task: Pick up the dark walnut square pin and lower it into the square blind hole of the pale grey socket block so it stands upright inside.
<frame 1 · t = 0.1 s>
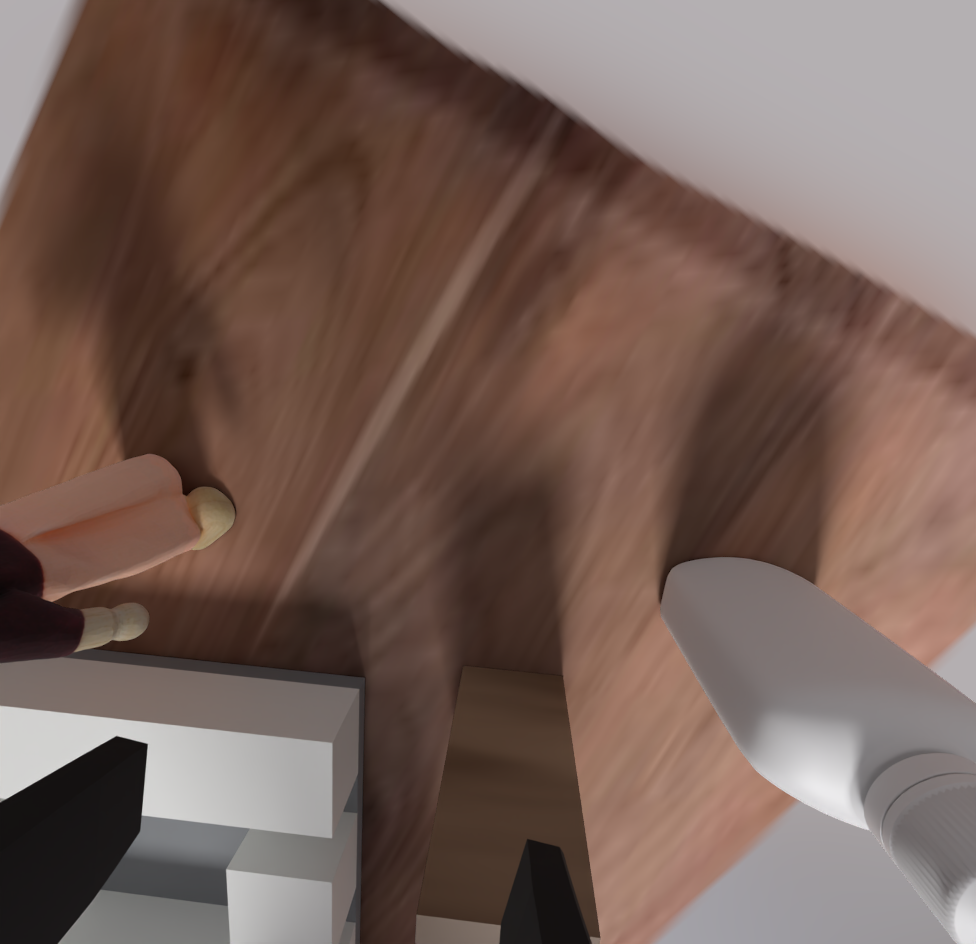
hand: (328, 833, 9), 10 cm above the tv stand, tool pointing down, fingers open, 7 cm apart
socket block: (188, 814, 22), on the tv stand
walnut pin: (508, 713, 20), on the tv stand
eye dropper bottle: (731, 596, 18), on the tv stand
grandmother figurine: (168, 495, 19), on the tv stand
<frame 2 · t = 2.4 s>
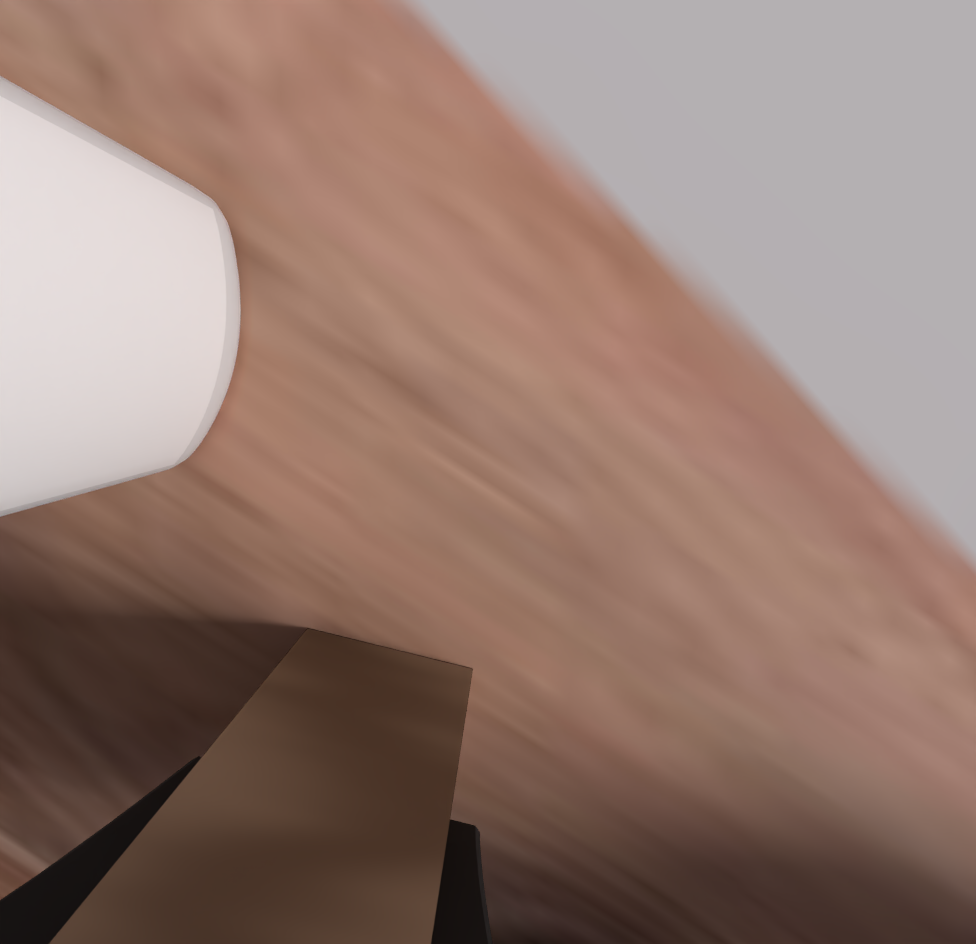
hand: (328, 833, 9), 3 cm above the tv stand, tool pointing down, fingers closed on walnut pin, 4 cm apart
walnut pin: (375, 720, 12), on the tv stand, touching gripper
eye dropper bottle: (171, 331, 10), on the tv stand
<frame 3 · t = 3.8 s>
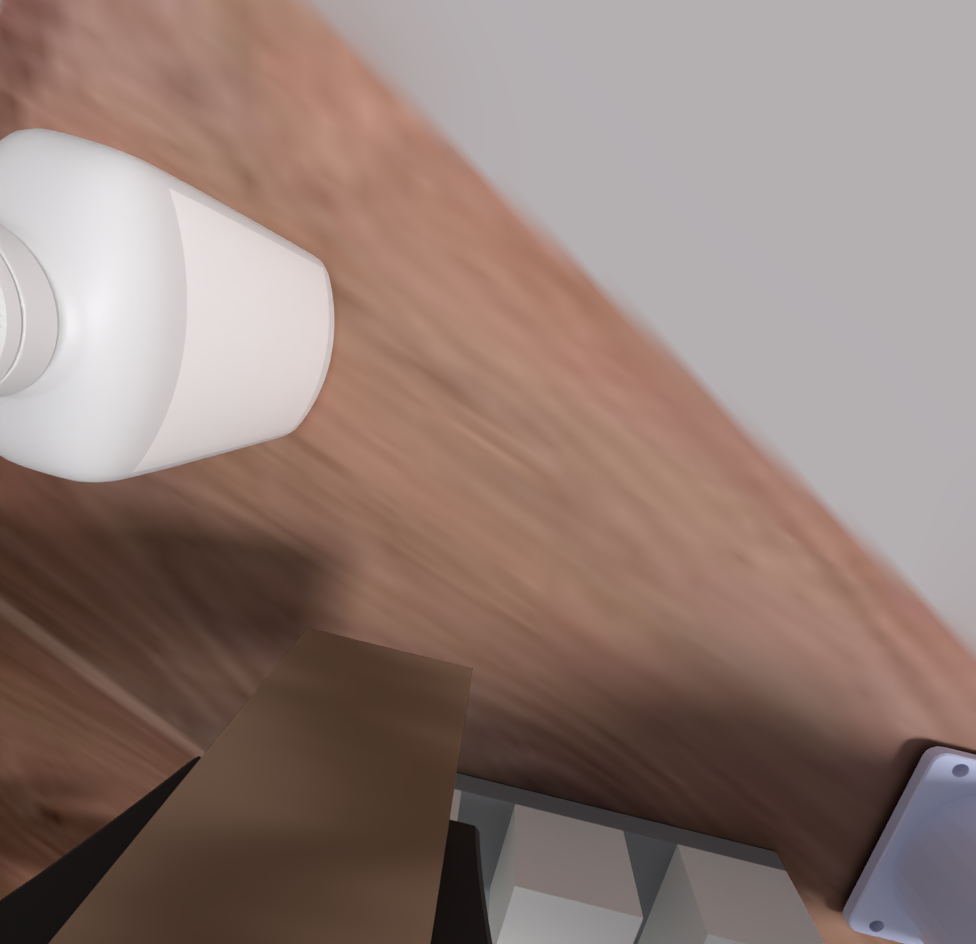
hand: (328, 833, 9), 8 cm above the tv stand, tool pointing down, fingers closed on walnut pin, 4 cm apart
walnut pin: (375, 719, 12), point 5 cm above the tv stand, touching gripper
eye dropper bottle: (284, 344, 15), on the tv stand
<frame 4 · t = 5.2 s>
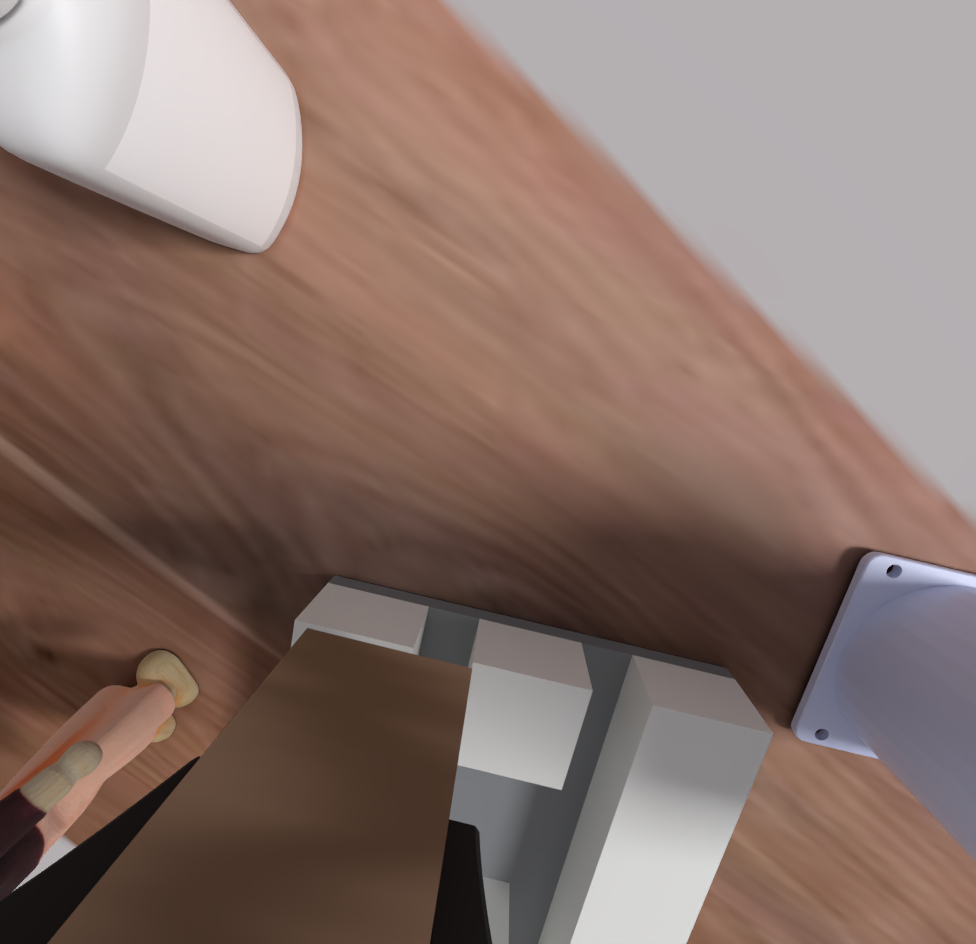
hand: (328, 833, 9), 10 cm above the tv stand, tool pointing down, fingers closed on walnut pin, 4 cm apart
socket block: (486, 784, 21), on the tv stand
walnut pin: (374, 719, 12), point 7 cm above the tv stand, touching gripper
eye dropper bottle: (257, 168, 16), on the tv stand
grandmother figurine: (155, 700, 21), on the tv stand
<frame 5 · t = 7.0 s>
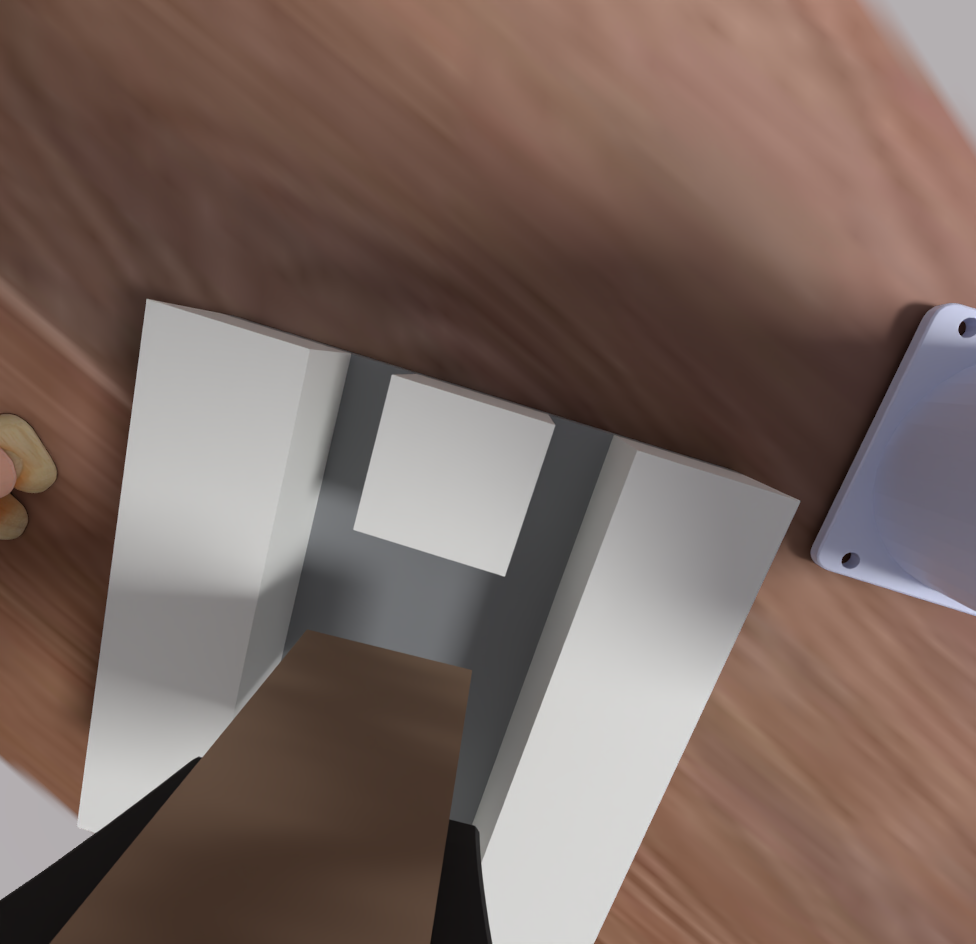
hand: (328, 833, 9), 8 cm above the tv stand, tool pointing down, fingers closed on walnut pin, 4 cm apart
socket block: (417, 619, 16), on the tv stand
walnut pin: (374, 721, 12), point 5 cm above the tv stand, touching gripper
grandmother figurine: (4, 488, 16), on the tv stand
when the fingers open (5 cm above the tv stand, at t = 8.5 s): walnut pin stays where it is, resting on socket block.
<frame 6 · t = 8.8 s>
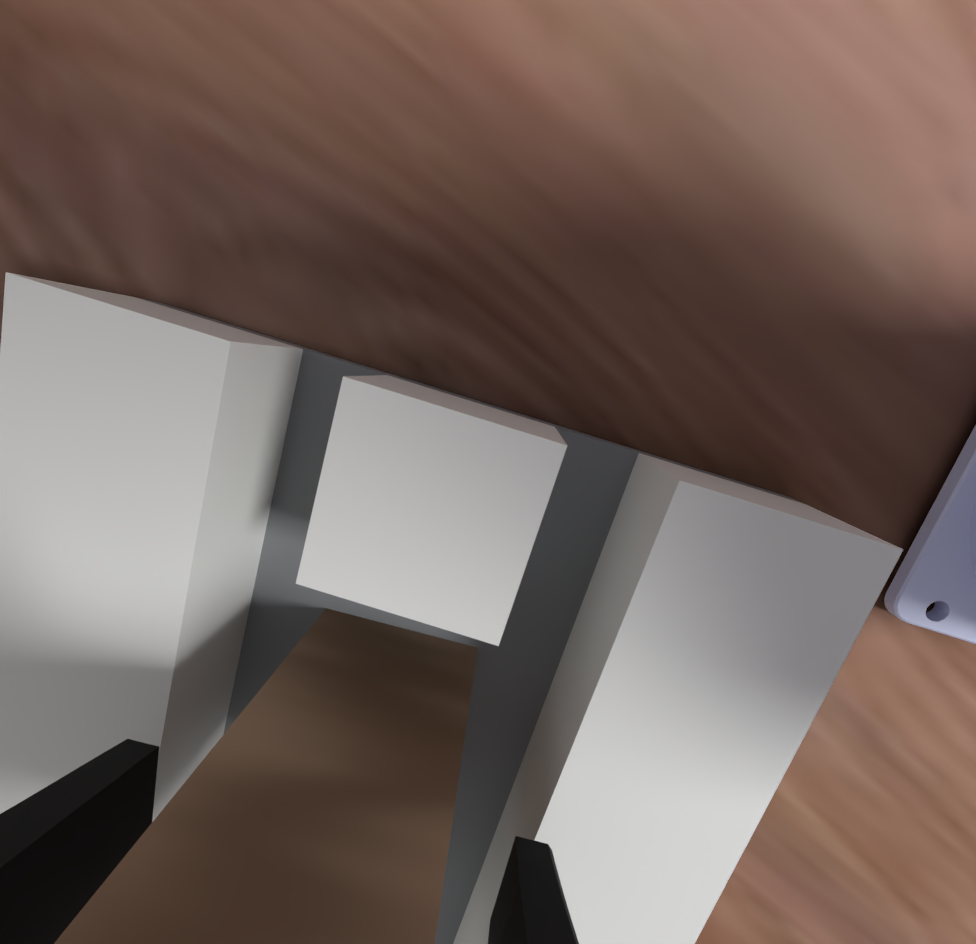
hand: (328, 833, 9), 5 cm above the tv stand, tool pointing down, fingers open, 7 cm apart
socket block: (392, 677, 13), on the tv stand
walnut pin: (386, 694, 13), point 1 cm above the tv stand, touching socket block
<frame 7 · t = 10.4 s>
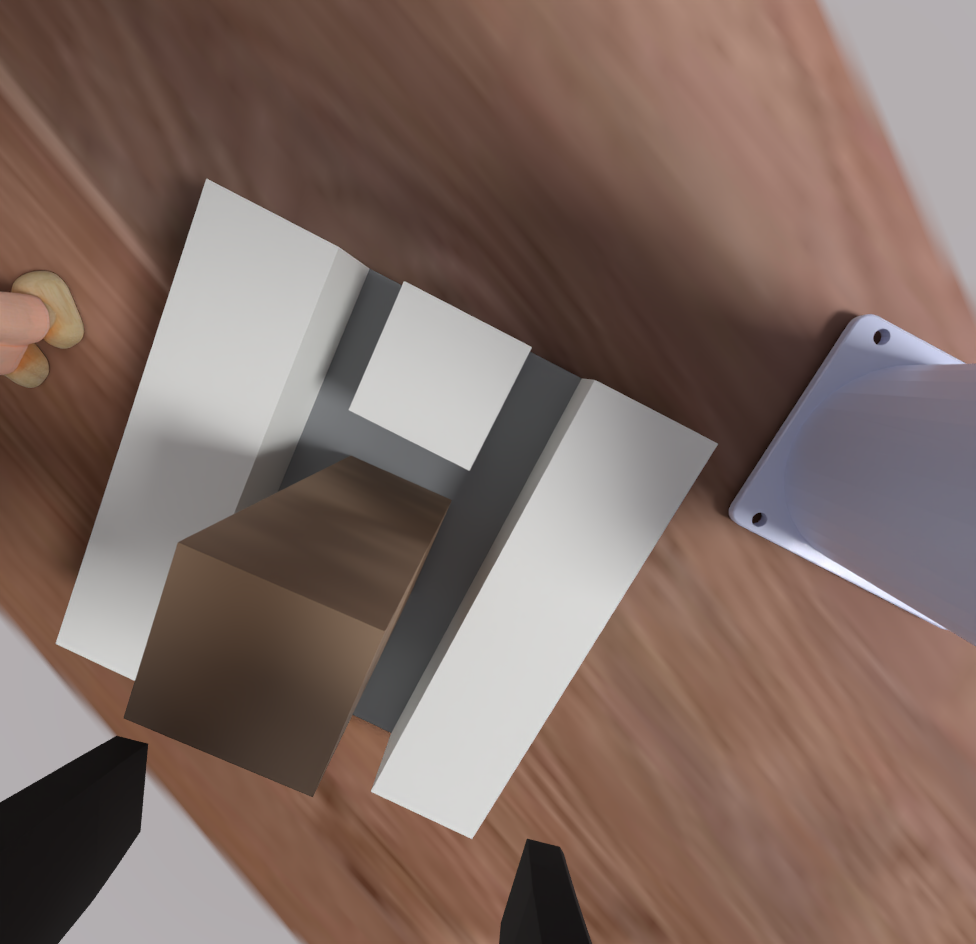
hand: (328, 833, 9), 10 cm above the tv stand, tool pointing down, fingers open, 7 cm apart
socket block: (386, 519, 18), on the tv stand
walnut pin: (381, 525, 18), point 1 cm above the tv stand, touching socket block
grandmother figurine: (31, 340, 18), on the tv stand
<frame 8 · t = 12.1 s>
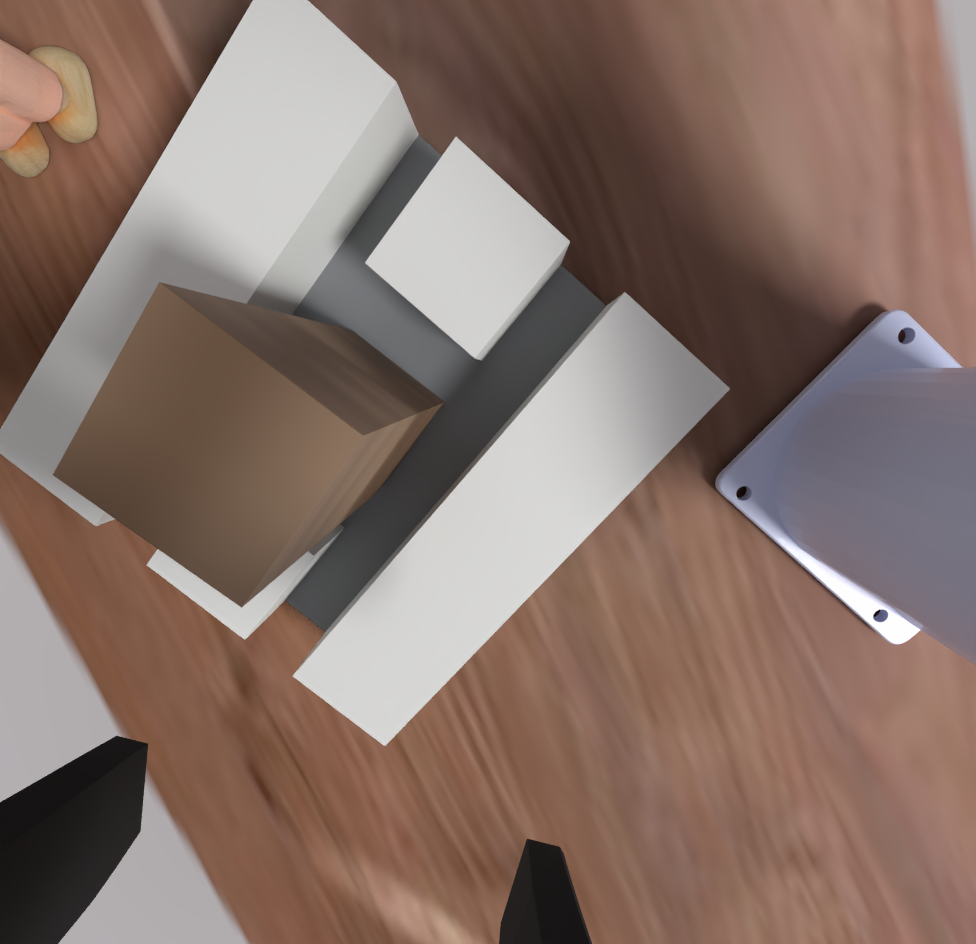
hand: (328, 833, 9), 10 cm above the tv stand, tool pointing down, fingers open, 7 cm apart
socket block: (372, 409, 18), on the tv stand
walnut pin: (366, 412, 17), point 1 cm above the tv stand, touching socket block
grandmother figurine: (36, 126, 17), on the tv stand
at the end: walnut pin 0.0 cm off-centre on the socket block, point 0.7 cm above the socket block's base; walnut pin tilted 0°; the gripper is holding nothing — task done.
